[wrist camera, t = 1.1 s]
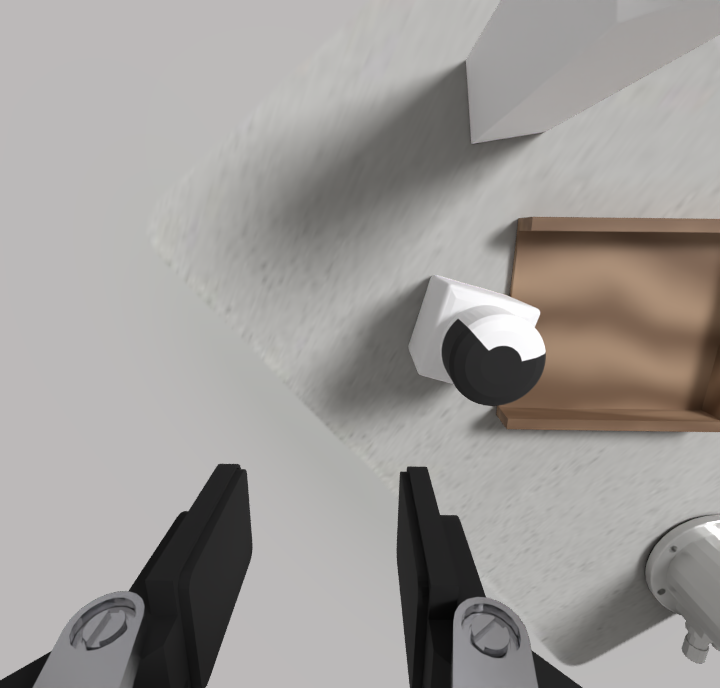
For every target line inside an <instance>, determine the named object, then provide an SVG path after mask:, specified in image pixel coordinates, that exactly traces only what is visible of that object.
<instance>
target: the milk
mask: <svg viewBox="0 0 720 688" xmlns="http://www.w3.org/2000/svg"><path fill="white" fill-rule="evenodd" d="M718 35H720V0H501V1H500V3H499V4H498V6H497V8H496V9H495V11H494V13H493V15H492V16H491V18H490V20H489V21H488V23H487V25H486V26H485V28H484V30H483V32H482V33H481V35H480V37H479V38H478V40H477V42H476V43H475V45H474V47H473V49H472V50H471V52H470V54H469V55H468V57H467V59H466V70H467V85H468V100H469V115H470V130H471V143H472V144H475V143H481V142H487V141H493V140H499V139H505V138H511V137H517V136H523V135H529V134H535V133H542V132H546V131H548V130H550V129H552V128H553V127H555V126H557V125H559V124H561V123H562V122H564V121H566V120H568V119H570V118H571V117H573V116H575V115H577V114H579V113H580V112H582V111H584V110H586V109H587V108H589V107H591V106H593V105H595V104H596V103H598V102H600V101H602V100H604V99H605V98H607V97H609V96H611V95H613V94H614V93H616V92H618V91H620V90H622V89H623V88H625V87H627V86H629V85H630V84H632V83H634V82H636V81H638V80H639V79H641V78H643V77H645V76H647V75H648V74H650V73H652V72H654V71H656V70H657V69H659V68H661V67H663V66H665V65H666V64H668V63H670V62H672V61H673V60H675V59H677V58H679V57H681V56H682V55H684V54H686V53H688V52H690V51H691V50H693V49H695V48H697V47H699V46H700V45H702V44H704V43H706V42H708V41H709V40H711V39H713V38H715V37H716V36H718Z"/></svg>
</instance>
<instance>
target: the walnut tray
mask: <svg viewBox="0 0 720 688" xmlns="http://www.w3.org/2000/svg"><path fill="white" fill-rule="evenodd" d="M510 297H512V298H514V299H517V300H519V301H521V302H524V303H526V304H528V305H531V306H533V307H535V308H537V309H539V311H540V316H539V318H538V321H537V323H536V325H535V329H536V330H537V331H538V332H539V334H540V336H541V337H542V339H543V342H544V345H545V350H546V361H545V367H544V370H543V373H542V375H541V377H540V379H539V381H538V382H537V384H536V385H535V386H534V387H533V388H532V389H531V390H530V391H529V392H528V393H527V394H526V395H524V396H523V397H521V398H520V399H518V400H516V401H514V402H511V403H508V404H505V405H499V406H497V412H496V415H497V417H498V418H499V419H500V421H501V422H502V423H503V425H504V426H505V427H506V429H533V430H605V431H677V432H720V219H673V218H581V217H528V218H519V219H518V227H517V236H516V245H515V254H514V263H513V271H512V280H511V289H510Z"/></svg>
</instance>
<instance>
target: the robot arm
mask: <svg viewBox="0 0 720 688" xmlns="http://www.w3.org/2000/svg"><path fill="white" fill-rule="evenodd" d="M398 509H399V510H398V530H397V566H398V575H399V585H400V595H401V604H402V615H403V623H404V624H403V625H404V635H405V643H406V654H407V664H408V674H409V684H410V688H582V687H581V686H579V685H578V684H577V683H575V682H574V681H572V680H571V679H570V678H568V677H567V676H566V675H564V674H563V673H562V672H560V671H559V670H558V669H556V668H555V667H553V666H552V665H551V664H549V663H548V662H547V661H545V660H544V659H543V658H541V657H540V656H539V655H537V654H536V653H534V652H533V651H532V650H531V646H530V640H529V636H528V633H527V630H526V627H525V625H524V624H523V622H522V621H521V619H520V618H519V616H518V615H517V614H516V613H515V612H513V611H512V610H511V609H510V608H509V607H507V606H506V605H504V604H502V603H501V602H499V601H496V600H493V599H490V598H486V596H485V593H484V590H483V587H482V584H481V581H480V578H479V575H478V572H477V569H476V566H475V563H474V561H473V558H472V555H471V552H470V549H469V546H468V543H467V540H466V537H465V534H464V531H463V528H462V525H461V522H460V519H459V517H458V516H457V515H440V513H439V510H438V506H437V502H436V498H435V495H434V491H433V487H432V484H431V480H430V476H429V473H428V469H427V467H407V472H400V484H399V508H398ZM250 521H251V520H250V508H249V494H248V481H247V472H246V470H245V469H241V468H240V465H239V464H218V466H217V467H216V469H215V470H214V472H213V473H212V475H211V477H210V478H209V480H208V481H207V483H206V485H205V486H204V488H203V489H202V491H201V492H200V494H199V496H198V497H197V499H196V501H195V502H194V504H193V505H192V507H191V508H190V510H189V511H184V512H182V513H180V514H179V516H178V517H177V518H176V520H175V521H174V523H173V524H172V526H171V527H170V529H169V530H168V532H167V533H166V535H165V537H164V538H163V539H162V541H161V542H160V544H159V546H158V547H157V549H156V550H155V552H154V553H153V555H152V556H151V558H150V559H149V561H148V562H147V564H146V565H145V567H144V568H143V570H142V571H141V573H140V575H139V576H138V578H137V579H136V580H135V582H134V584H133V585H132V587H131V588H130V590H129V591H120V592H114V593H110V594H106V595H104V596H102V597H100V598H97V599H95V600H93V601H92V602H90V603H89V604H87V605H86V606H84V607H83V608H81V610H79V611H78V612H77V613H76V614H75V615H74V616H73V617H72V618H71V619H70V620H69V622H68V623H67V625H66V626H65V628H64V629H63V631H62V633H61V635H60V637H59V639H58V641H57V642H56V644H55V646H54V648H53V650H52V651H51V652H49V653H47V654H46V655H44V656H42V657H41V658H39V659H37V660H35V661H34V662H32V663H30V664H28V665H26V666H25V667H23V668H21V669H19V670H18V671H16V672H14V673H12V674H11V675H9V676H7V677H5V678H4V679H2V680H0V688H205V687H206V686H207V684H208V681H209V678H210V676H211V673H212V670H213V667H214V664H215V661H216V658H217V655H218V652H219V650H220V647H221V644H222V641H223V638H224V635H225V632H226V629H227V626H228V624H229V621H230V618H231V615H232V612H233V609H234V606H235V603H236V601H237V598H238V595H239V592H240V589H241V586H242V583H243V580H244V577H245V575H246V571H247V569H248V566H249V563H250V560H251V556H252V533H251V522H250ZM645 574H646V582H647V585H648V587H649V590H650V591H651V592H652V594H653V595H654V596H655V598H656V599H657V600H658V601H659V602H660V603H661V604H662V606H664V607H665V608H667V609H668V610H670V611H672V612H674V613H677V614H679V615H682V616H683V617H684V619H685V620H686V623H685V625H686V628H687V630H688V634H687V635H686V636H685V639H684V643H683V646H682V651H683V653H684V655H685V656H686V657H687V658H688V659H690V660H691V661H693V662H695V663H699V664H702V663H704V662H705V659H706V656H707V653H708V649H709V646H708V645H709V643H711V644H712V646H713V647H714V648H715V649H716V650H718V651H720V515H711V516H704V517H700V518H696V519H693V520H690V521H688V522H685V523H683V524H681V525H679V526H678V527H676V528H674V529H672V530H671V531H670V532H669V533H667V534H666V535H665V536H664V537H663V538H662V539H661V540H660V541H659V542H658V543H657V544H656V545H655V547H654V549H653V550H652V552H651V554H650V556H649V559H648V561H647V564H646V571H645Z"/></svg>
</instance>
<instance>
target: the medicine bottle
mask: <svg viewBox="0 0 720 688" xmlns="http://www.w3.org/2000/svg"><path fill="white" fill-rule="evenodd" d="M539 316H540V311H539V309H537V308H535V307H533V306H531V305H528V304H526V303H524V302H521V301H519V300H517V299H514V298H512V297H510V296H507V295H505V294H501V293H498V292H494V291H491V290H487V289H484V288H480V287H477V286H473V285H470V284H466V283H463V282H459V281H456V280H453V279H449V278H446V277H442V276H439V275H433V276H432V277H431V278H430V281H429V284H428V288H427V291H426V294H425V297H424V300H423V303H422V306H421V309H420V312H419V315H418V318H417V321H416V324H415V327H414V330H413V333H412V337H411V340H410V343H409V346H408V349H409V351H410V354H411V356H412V359H413V361H414V364H415V367H416V369H417V372H418V374H420V375H421V376H425V377H429V378H432V379H436V380H440V381H444V382H447V383H451V384H454V385H455V386H456V388H457V389H458V390H459V392H460V393H461V394H462V395H464V396H465V397H466V398H468V399H469V400H471V401H473V402H476V403H478V404H482V405H488V406H499V405H505V404H508V403H511V402H514V401H516V400H518V399H520V398H521V397H523V396H524V395H526V394H527V393H528V392H529V391H530V390H531V389H532V388H533V387H534V386H535V385H536V384H537V382H538V381H539V379H540V377H541V375H542V373H543V370H544V367H545V361H546V350H545V345H544V342H543V339H542V337H541V336H540V334H539V332H538V331H537V330H536V329H535V325H536V323H537V321H538V318H539Z"/></svg>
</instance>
